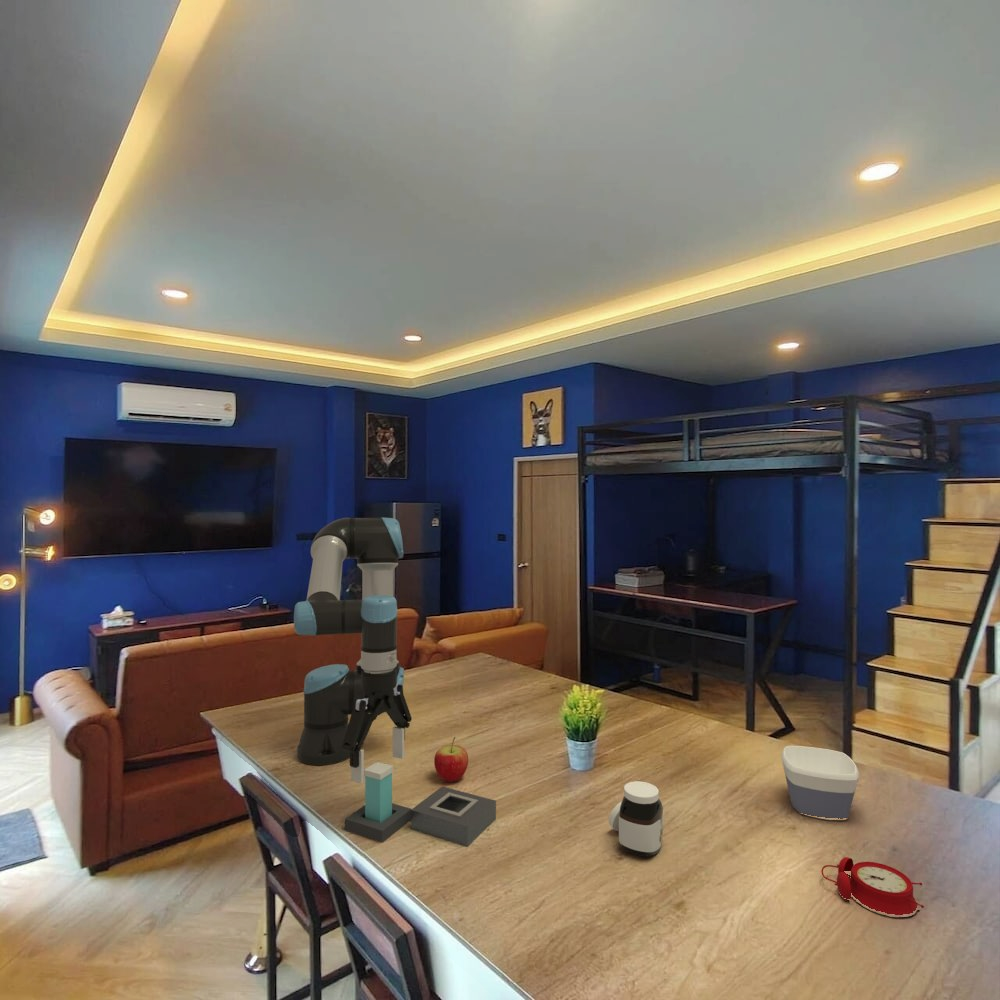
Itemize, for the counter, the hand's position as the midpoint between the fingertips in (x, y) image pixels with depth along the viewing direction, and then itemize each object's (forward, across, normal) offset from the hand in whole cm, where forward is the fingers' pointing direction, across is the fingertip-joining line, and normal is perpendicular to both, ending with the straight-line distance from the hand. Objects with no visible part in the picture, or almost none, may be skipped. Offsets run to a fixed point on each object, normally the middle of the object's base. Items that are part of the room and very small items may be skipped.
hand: (378, 769), depth 131 cm
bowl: (+13, +53, -83) cm, 99 cm away
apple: (+12, +26, -2) cm, 29 cm away
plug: (+12, 0, 0) cm, 12 cm away
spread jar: (+13, +20, -50) cm, 55 cm away
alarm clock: (+13, +23, -91) cm, 95 cm away
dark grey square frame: (+12, 0, 0) cm, 12 cm away
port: (+12, +8, -14) cm, 20 cm away
